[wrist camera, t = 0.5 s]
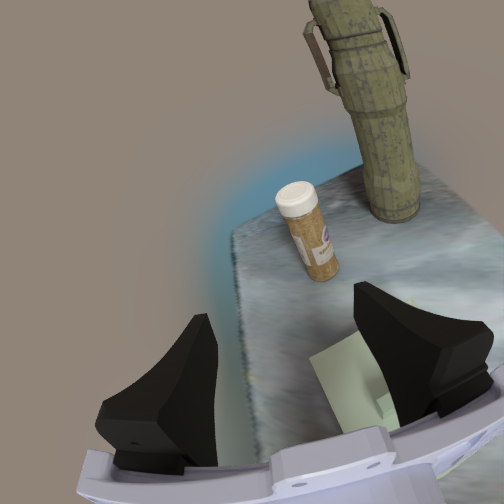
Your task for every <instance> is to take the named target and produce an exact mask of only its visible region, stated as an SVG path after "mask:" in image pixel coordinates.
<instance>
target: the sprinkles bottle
mask: <svg viewBox="0 0 504 504" xmlns="http://www.w3.org/2000/svg"><path fill="white" fill-rule="evenodd" d="M275 201H276V204H277V206H278V209H279V211H280V213H281V214H282V215H283V217H284V218H285V220H286V222H287V225H288V227H289V229H290V232H291V235H292V237H293V239H294V241H295V244H296V246H297V248H298V251H299V253H300V255H301V257H302V260H303V262H304V263H305V265H306V267H307V270H308V274H309V276H310V278H311V279H313V280H315V281H320V282H322V281H326V280H329V279H331V278H332V277H334V276H335V274H336V273H337V271H338V269H339V264H338V261H337V259H336V257H335V254H334V249H333V245H332V242H331V239H330V236H329V233H328V230H327V227H326V225H325V222H324V219H323V217H322V214H321V211H320V208H319V205H318V197H317V194H316V192H315V189H314V187H313V185H312V184H310V183H308V182H304V181H303V182H302V181H300V182H294V183H291V184H289V185H286V186H285V187H283V188H282V189H281V190H280V191H279V192H278V193H277V195H276V198H275Z"/></svg>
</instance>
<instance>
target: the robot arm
mask: <svg viewBox="0 0 504 504" xmlns="http://www.w3.org/2000/svg"><path fill="white" fill-rule="evenodd" d="M354 319H355V322H356V324H357V327H358V329H359V332H360V334H361V336H362V337H363V339H364V341H365V343H366V344H367V346H368V348H369V349H370V351H371V353H372V355H373V356H374V358H375V360H376V362H377V363H378V365H379V367H380V369H381V371H382V374H383V376H384V379H385V381H386V384H387V386H388V389H389V392H390V395H391V398H392V401H393V404H394V407H395V411H396V414H397V417H398V421H399V425H400V428H398V429H396V430H393V431H391V432H388V431H387V428H386V427H382V426H376V425H375V426H370V427H365V428H361V429H358V430H355V431H351V432H348V433H344V434H341V435H337V436H333V437H329V438H325V439H321V440H317V441H312V442H308V443H303V444H298V445H294V446H290V447H287V448H283V449H281V450H279V451H277V452H276V453H274V454H273V455H271V457H270V460H269V462H267V463H259V464H249V465H238V466H220V467H218V460H217V451H216V439H215V423H214V398H215V388H216V379H217V369H218V344H217V341H216V338H215V335H214V333H213V330H212V327H211V324H210V321H209V318H208V315H207V313H205V314H199V315H194V317H193V318H192V320H191V321H190V322H189V324H188V325H187V327H186V328H185V330H184V331H183V333H182V334H181V335H180V337H179V338H178V339H177V341H176V342H175V343H174V345H173V346H172V347H171V348H170V350H169V351H168V352H167V353H166V354H165V356H164V357H163V358H162V359H161V360H160V361H159V362H158V363H157V364H156V365H155V366H154V367H153V368H152V369H151V370H150V371H148V372H147V373H146V374H145V375H144V376H142V377H141V378H140V379H139V380H137V381H136V382H135V383H133V384H132V385H130V386H129V387H127V388H126V389H124V390H123V391H121V392H119V393H118V394H116V395H114V396H112V397H110V398H108V399H107V400H104V401H103V403H102V406H101V408H100V411H99V414H98V417H97V419H96V422H95V427H96V429H97V431H98V432H99V434H100V435H101V436H102V437H103V438H104V439H105V440H106V441H107V442H109V443H110V444H111V445H112V446H113V447H114V448H115V449H116V453H115V455H113V454H111V453H108V452H103V451H98V450H92V449H88V452H87V455H86V458H85V462H84V465H83V468H82V472H81V475H80V479H79V483H78V486H77V490H76V492H77V493H78V494H79V495H81V496H83V497H85V498H86V499H88V500H90V501H92V502H94V503H96V504H446V501H445V499H444V496H443V494H442V491H441V488H440V486H439V483H438V481H437V479H436V477H437V476H438V475H440V474H442V473H443V472H445V471H447V470H448V469H450V468H452V467H453V466H455V465H456V464H458V463H459V462H461V461H462V460H464V459H465V458H467V457H468V456H470V455H471V454H472V453H474V452H475V451H477V450H478V449H479V448H481V447H482V446H483V445H485V444H486V443H487V442H489V441H490V440H491V439H493V438H494V437H495V436H496V435H498V434H499V433H500V432H501V431H503V430H504V363H503V364H502V365H500V366H499V367H497V368H496V369H495V370H494V371H492V373H491V374H490V375H489V374H488V372H487V371H486V370H487V369H488V365H487V364H486V363H485V360H486V358H487V356H488V354H489V352H490V349H491V347H492V344H493V340H494V334H493V332H492V331H491V330H490V329H489V328H488V327H487V326H486V325H485V324H484V323H483V322H482V321H469V320H460V319H454V318H449V317H444V316H440V315H437V314H433V313H430V312H427V311H424V310H421V309H419V308H416V307H414V306H411V305H409V304H407V303H405V302H403V301H401V300H399V299H397V298H395V297H393V296H391V295H389V294H388V293H386V292H384V291H382V290H381V289H379V288H377V287H375V286H373V285H372V284H370V283H368V282H366V281H364V282H360V283H356V284H354Z"/></svg>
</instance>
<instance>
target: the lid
mask: <svg viewBox="0 0 504 504" xmlns="http://www.w3.org/2000/svg"><path fill="white" fill-rule="evenodd" d="M404 302H405V303H407V304H409V305H411V306H414V307H416V308H419V306H418V305H417V304H416V303H415V302H414V300H413V299H412V298H411V297H410V298H409V299H407V300H406V301H404ZM419 309H420V308H419ZM309 360H310V362H311V364H312V366H313V368H314V371H315V373H316V375H317V377H318V379H319V381H320V383H321V386H322V388H323V390H324V392H325V394H326V396H327V398H328V401H329V403H330V405H331V407H332V409H333V411H334V414H335V416H336V418H337V420H338V422H339V424H340V427H341V429H342V431H343V433H348V432H351V431H355V430H358V429H361V428H365V427H370V426H375V425H376V426H382V427H386V428H387V431H388V432H391V431H393V430H396V429H398V428H400V425H399V421H398V417H397V414H396V411H395V407H394V404H393V401H392V398H391V395H390V392H389V389H388V386H387V384H386V381H385V379H384V376H383V374H382V371H381V369H380V367H379V365H378V363H377V362H376V360H375V358H374V356H373V355H372V353H371V351H370V349H369V348H368V346H367V344H366V343H365V341H364V339H363V337H362V336H361V334H360V332H359V331H357V332H355V333H354V334H352V335H350V336H349V337H347V338H345V339H343V340H342V341H340V342H338V343H336V344H334V345H332V346H331V347H329V348H327V349H325V350H323V351H321V352H319V353H318V354H316V355H314V356H312V357H310V358H309ZM479 449H480V448H479ZM475 452H476V451H475ZM475 452H474V453H475ZM474 453H472V454H474ZM472 454H471V455H472ZM471 455H470V456H471ZM470 456H468V457H467V458H469V457H470ZM467 458H465V459H464V460H462V461H461V462H459V463H458V464H456V465H455V466H453V467H452V468H450V469H448V470H447V471H445V472H443V473H442V474H440V475H438V476H437V477H436V479H437V480H438V479H440V478H441V477H443V476H444V475H446V474H447V473H448V472H450V471H451V470H453V469H454V468H455V467H457V466H458V465H459V464H461V463H462V462H463V461H465V460H466V459H467Z"/></svg>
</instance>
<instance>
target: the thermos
mask: <svg viewBox="0 0 504 504" xmlns="http://www.w3.org/2000/svg"><path fill="white" fill-rule="evenodd" d="M308 2H309V7H310V10H311V12H312V14H313V16H314V18H313V20H312V21H310V22H308V23H307V24H306V26H305V29H304V32H303V35H304V38H305V40H306V42H307V44H308V46H309V48H310V50H311V53H312V55H313V57H314V60H315V62H316V65H317V67H318V69H319V72H320V74H321V77H322V80H323V83H324V85H325V88H326V90H328V91H329V92H331V93H333V94H335V95H337V96H340V97H341V99H342V102H343V105H344V108H345V109H346V110H347V112H348V113H349V114H350V115H351V119H352V122H353V125H354V129H355V132H356V136H357V140H358V144H359V147H360V152H361V155H362V159H363V164H364V167H363V173H362V175H363V179H364V184H365V189H366V194H367V198H368V201H369V202H370V209H371V213H372V214H373V216H374V217H375V218H377V219H378V220H380V221H383V222H386V223H393V224H397V223H404V222H406V221H409V220H411V219H412V218H414V217H415V216H416V215H417V214H418V212H419V210H420V201H419V198H420V180H419V170H418V168H417V166H416V164H415V162H414V156H413V147H412V142H411V134H410V128H409V123H408V117H407V112H406V102H407V96H406V91H405V87H404V84H406V83H405V80H407V79H410V73H409V67H408V62H407V59H406V55H405V52H404V49H403V46H402V42H401V39H400V36H399V33H398V30H397V27H396V24H395V22H394V19H393V16H392V15H390V13H388V12H387V11H386V10H385V9H384V8H383V7H382V8H378V7H373V5H372V2H371V0H308ZM377 15H380V16H381V17H382V19H383V21H384V24H385V27H386V30H387V33H388V35H389V38H390V41H391V44H392V47H393V50H394V54H395V57H396V58H395V57H394V55H393V54H392V52H391V51H390V49H389V47H388V44H387V41H385V40H384V37H383V34H382V31H381V30H382V27H381V24H380V22H379V19H378V17H377ZM315 25H316V26H318V27H319V29H320V31H321V33H322V36H323V38H324V40H326V41H327V44H328V46H329V48H330V50H329V53H330V55H331V57H332V73H333V76H334V79H335V81H336V84H335V86H334V84H333V81H332V78H331V76H330V73H329V70H328V68H327V65H326V63H325V60H324V58H323V55H322V53H321V51H320V48H319V46H318V44H317V41H316V39H315V37H314V34H313V26H315Z"/></svg>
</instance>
